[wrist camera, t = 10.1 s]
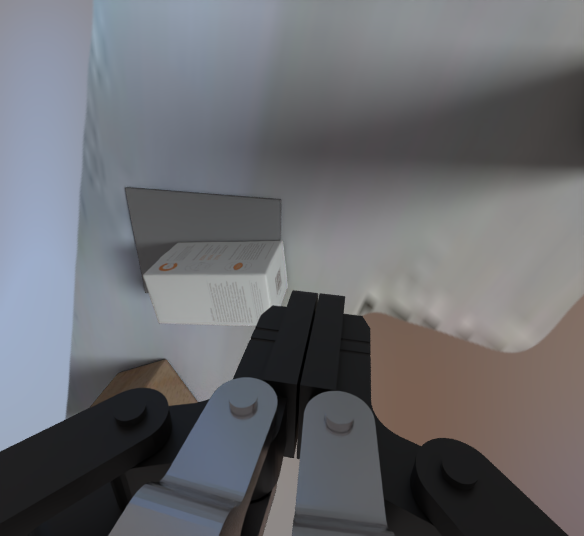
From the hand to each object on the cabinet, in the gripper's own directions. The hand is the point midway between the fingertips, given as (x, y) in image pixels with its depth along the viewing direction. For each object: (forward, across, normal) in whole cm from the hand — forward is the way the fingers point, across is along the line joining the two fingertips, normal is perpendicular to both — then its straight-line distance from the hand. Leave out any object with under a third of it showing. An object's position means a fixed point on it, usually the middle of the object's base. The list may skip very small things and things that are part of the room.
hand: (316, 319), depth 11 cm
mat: (+29, +16, +13) cm, 36 cm away
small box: (+24, +6, +14) cm, 29 cm away
